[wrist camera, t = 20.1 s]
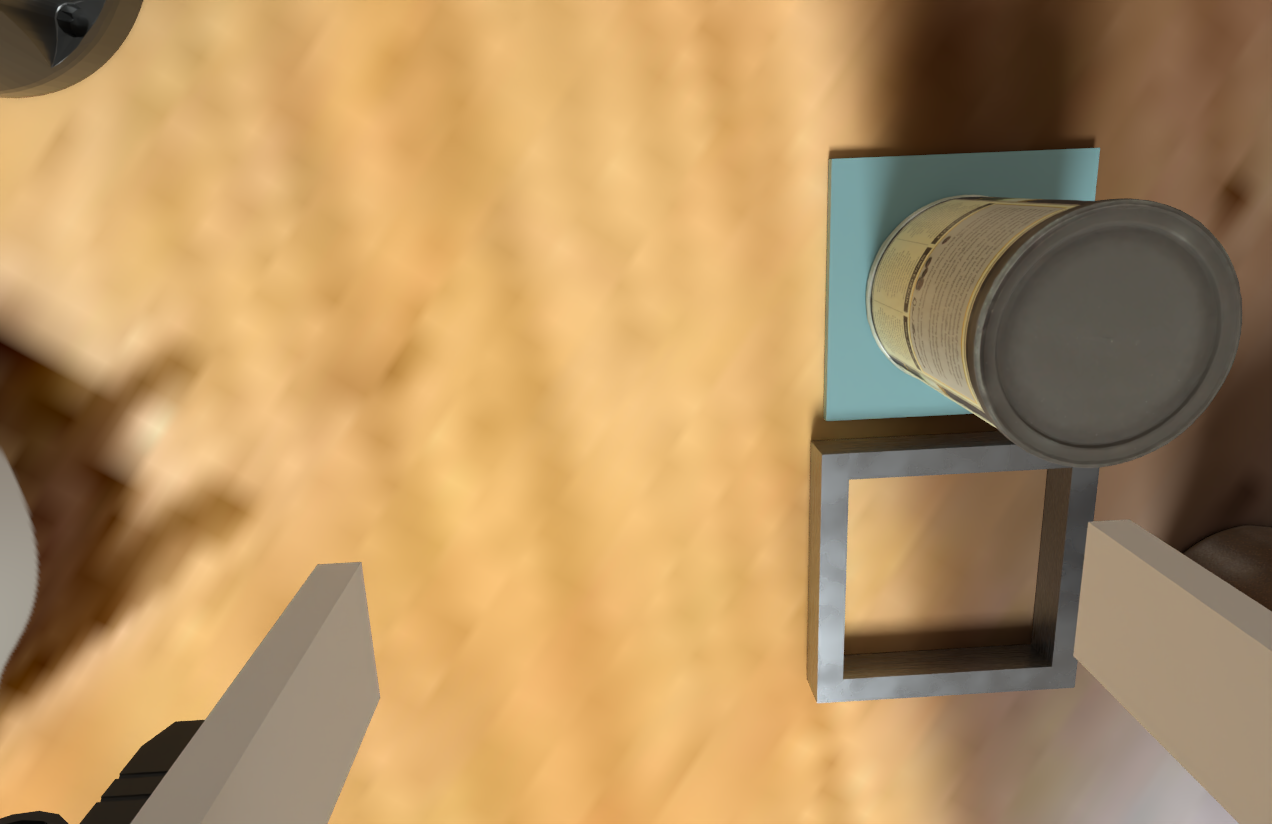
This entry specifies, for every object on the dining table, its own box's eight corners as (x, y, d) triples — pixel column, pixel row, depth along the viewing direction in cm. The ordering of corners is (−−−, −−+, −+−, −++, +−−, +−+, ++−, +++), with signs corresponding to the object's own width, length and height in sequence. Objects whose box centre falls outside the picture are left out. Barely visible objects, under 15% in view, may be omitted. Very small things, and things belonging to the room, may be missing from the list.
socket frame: (807, 679, 52) (817, 703, 50) (810, 440, 48) (822, 454, 46) (1052, 664, 53) (1074, 687, 50) (1077, 427, 49) (1102, 440, 46)
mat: (823, 418, 48) (826, 421, 47) (828, 159, 44) (831, 158, 43) (1067, 405, 48) (1073, 408, 48) (1093, 148, 44) (1100, 147, 44)
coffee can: (1043, 172, 44) (1242, 170, 30) (1059, 362, 47) (1247, 437, 33) (849, 216, 44) (960, 234, 31) (876, 402, 47) (989, 494, 33)
